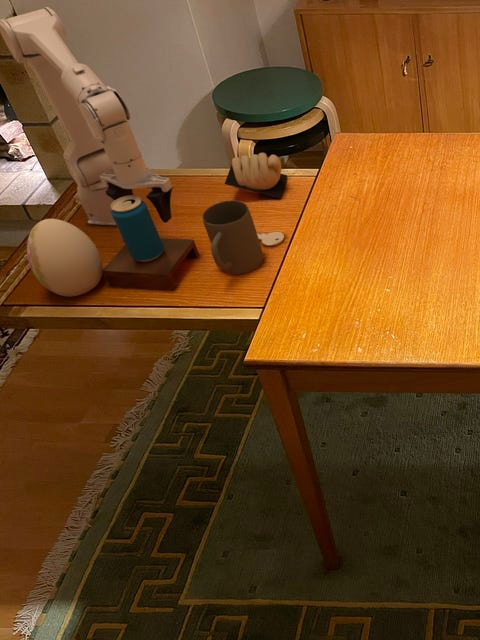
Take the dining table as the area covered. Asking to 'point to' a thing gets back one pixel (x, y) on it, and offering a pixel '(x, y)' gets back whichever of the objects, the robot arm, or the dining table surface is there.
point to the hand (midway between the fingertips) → (151, 217)
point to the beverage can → (137, 228)
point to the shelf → (150, 266)
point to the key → (271, 238)
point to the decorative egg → (63, 258)
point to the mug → (233, 237)
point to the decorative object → (257, 175)
